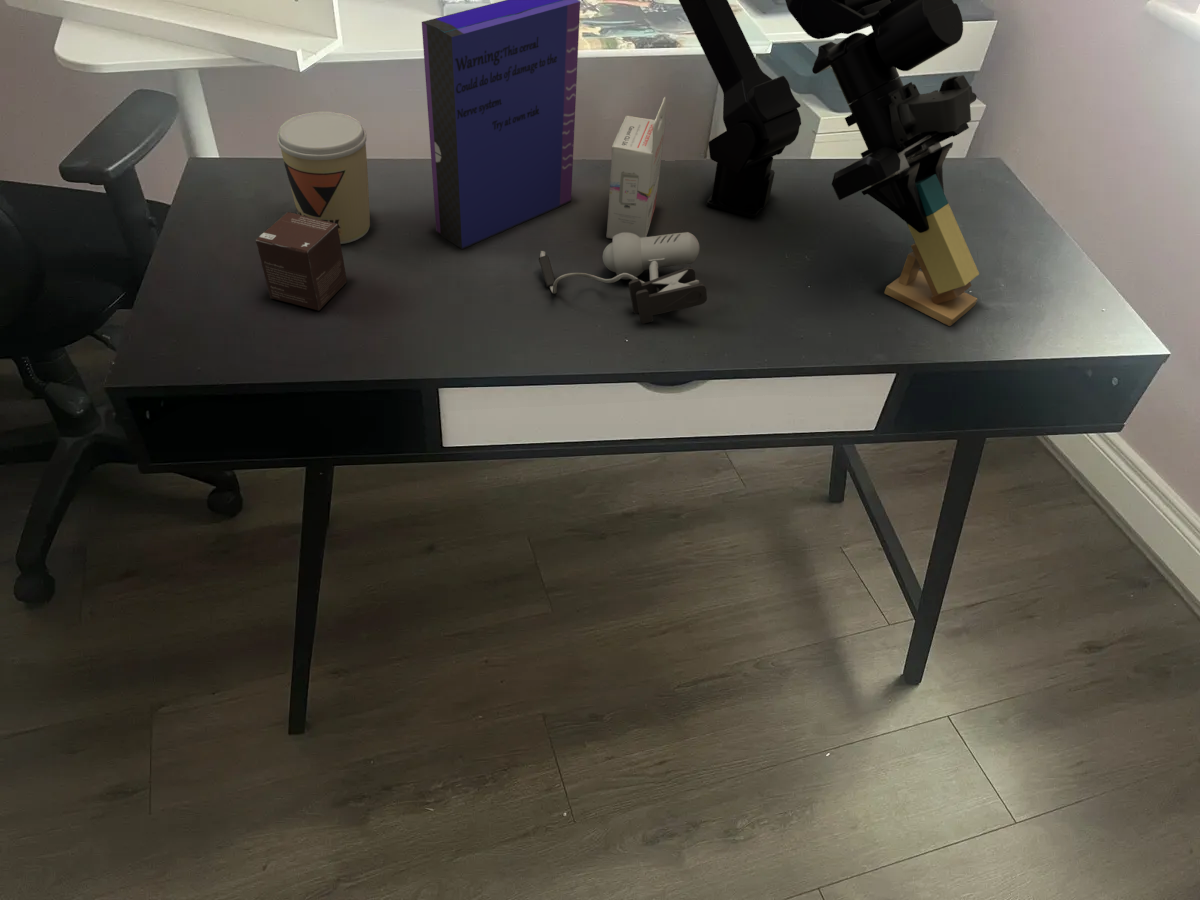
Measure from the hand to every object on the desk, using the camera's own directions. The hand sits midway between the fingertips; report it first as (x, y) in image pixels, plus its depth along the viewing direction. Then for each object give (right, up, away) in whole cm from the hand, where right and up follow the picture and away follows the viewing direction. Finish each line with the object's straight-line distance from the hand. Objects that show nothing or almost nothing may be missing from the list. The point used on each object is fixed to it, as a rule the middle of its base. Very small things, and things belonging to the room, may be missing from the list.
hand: (933, 225), depth 99 cm
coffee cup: (-67, +2, +8) cm, 68 cm away
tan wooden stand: (+1, -7, +5) cm, 9 cm away
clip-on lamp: (-34, -7, +2) cm, 35 cm away
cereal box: (-48, +4, +12) cm, 49 cm away
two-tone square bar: (0, -1, 0) cm, 1 cm away
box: (-67, -8, -1) cm, 68 cm away
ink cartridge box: (-33, +3, +12) cm, 35 cm away
